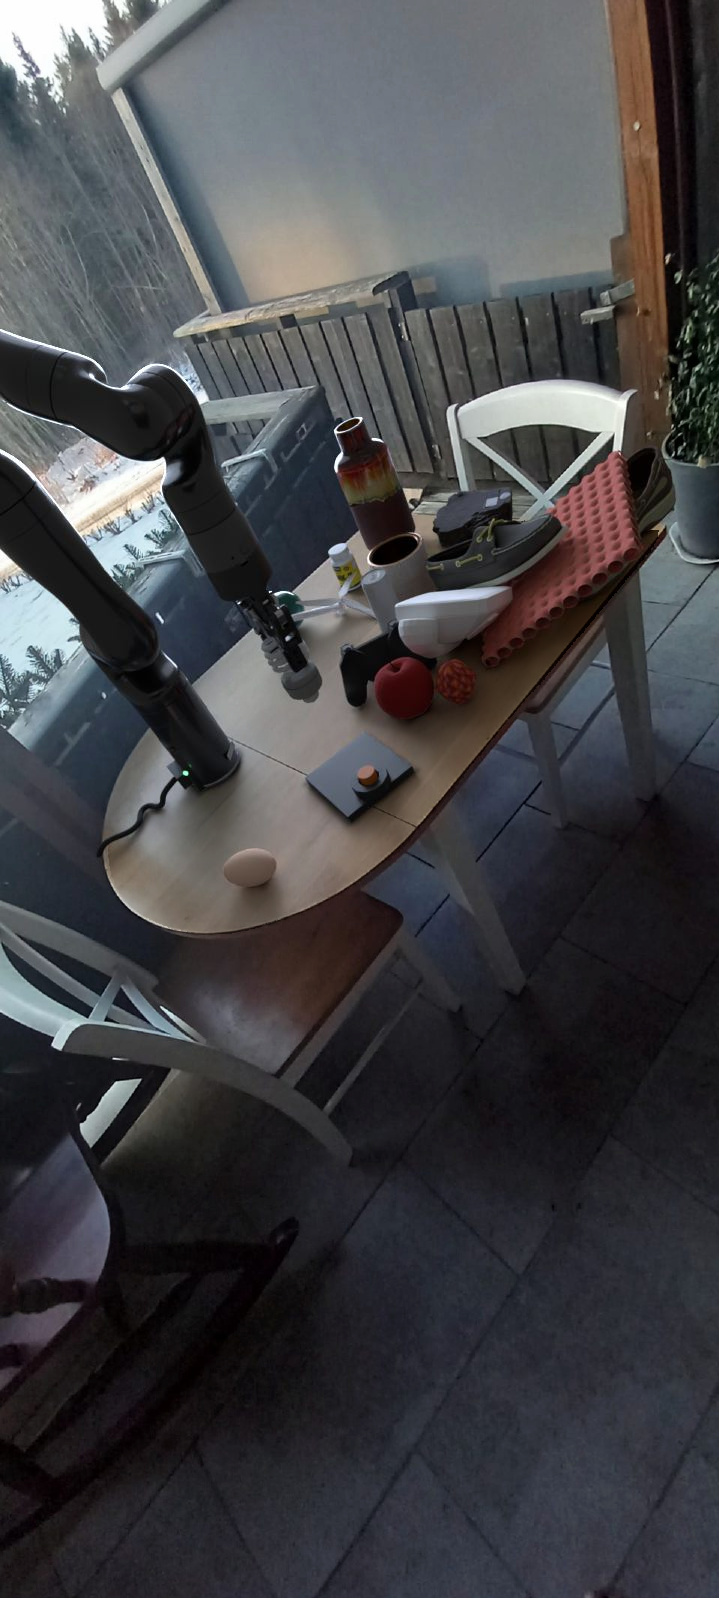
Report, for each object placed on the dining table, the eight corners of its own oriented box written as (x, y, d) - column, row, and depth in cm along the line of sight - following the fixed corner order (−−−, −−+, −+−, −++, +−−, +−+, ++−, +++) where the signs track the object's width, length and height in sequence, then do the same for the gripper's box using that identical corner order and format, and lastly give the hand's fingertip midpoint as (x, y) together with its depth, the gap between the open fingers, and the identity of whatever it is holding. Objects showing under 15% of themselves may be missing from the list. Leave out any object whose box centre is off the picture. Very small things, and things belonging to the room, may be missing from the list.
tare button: (381, 777, 106) (377, 770, 105) (367, 788, 106) (363, 781, 105) (371, 770, 108) (367, 762, 107) (357, 780, 107) (353, 773, 106)
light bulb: (312, 684, 108) (275, 617, 100) (339, 690, 104) (303, 621, 96) (288, 711, 105) (248, 644, 97) (315, 718, 102) (275, 649, 94)
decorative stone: (485, 709, 111) (470, 668, 106) (442, 720, 114) (425, 680, 108) (484, 683, 116) (469, 642, 111) (442, 694, 118) (426, 654, 113)
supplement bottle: (339, 593, 152) (323, 557, 147) (346, 579, 155) (330, 544, 149) (360, 589, 150) (344, 553, 144) (366, 575, 153) (351, 539, 147)
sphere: (319, 615, 149) (302, 581, 143) (297, 641, 145) (279, 607, 140) (289, 615, 154) (272, 582, 148) (268, 640, 150) (249, 607, 145)
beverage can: (409, 621, 135) (387, 564, 127) (408, 637, 132) (385, 579, 124) (384, 628, 137) (361, 572, 129) (383, 644, 134) (358, 587, 126)
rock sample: (462, 558, 143) (455, 535, 140) (419, 540, 155) (412, 518, 151) (533, 510, 145) (528, 486, 142) (486, 496, 157) (480, 473, 154)
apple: (394, 737, 115) (371, 688, 108) (378, 706, 122) (356, 658, 115) (448, 710, 114) (429, 660, 108) (430, 681, 121) (410, 631, 114)
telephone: (435, 588, 129) (441, 642, 132) (377, 609, 114) (385, 670, 117) (522, 580, 120) (526, 638, 124) (472, 601, 105) (479, 666, 108)
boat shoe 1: (559, 555, 108) (526, 504, 106) (429, 623, 131) (399, 583, 128) (588, 518, 114) (558, 469, 112) (459, 590, 137) (431, 551, 134)
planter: (431, 606, 136) (414, 561, 129) (377, 614, 141) (359, 571, 134) (444, 572, 142) (429, 526, 136) (392, 581, 147) (375, 538, 141)
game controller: (434, 663, 128) (409, 609, 126) (441, 665, 122) (415, 608, 119) (350, 706, 129) (323, 653, 127) (352, 711, 122) (324, 655, 120)
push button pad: (418, 774, 108) (411, 760, 106) (353, 825, 105) (345, 812, 103) (367, 737, 118) (360, 723, 116) (308, 783, 115) (300, 770, 113)
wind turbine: (256, 610, 147) (355, 586, 151) (279, 656, 138) (383, 629, 143) (254, 594, 144) (355, 570, 148) (277, 640, 135) (383, 613, 140)
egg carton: (644, 553, 99) (634, 543, 98) (490, 670, 117) (481, 662, 117) (625, 455, 117) (617, 447, 116) (494, 570, 135) (486, 563, 134)
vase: (424, 548, 151) (380, 420, 134) (374, 570, 153) (323, 447, 135) (415, 526, 159) (371, 403, 142) (367, 547, 161) (318, 428, 144)
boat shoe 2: (580, 615, 118) (568, 548, 110) (519, 595, 127) (504, 532, 119) (711, 505, 125) (709, 434, 117) (644, 494, 134) (638, 427, 126)
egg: (265, 880, 99) (214, 889, 103) (286, 883, 104) (237, 892, 107) (262, 842, 101) (212, 852, 104) (283, 846, 105) (234, 856, 108)
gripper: (181, 556, 93) (245, 660, 104) (227, 583, 83) (292, 696, 94) (229, 522, 94) (287, 629, 106) (280, 545, 84) (338, 661, 95)
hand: (289, 660), depth 100 cm, fingers closed on light bulb, 5 cm apart
